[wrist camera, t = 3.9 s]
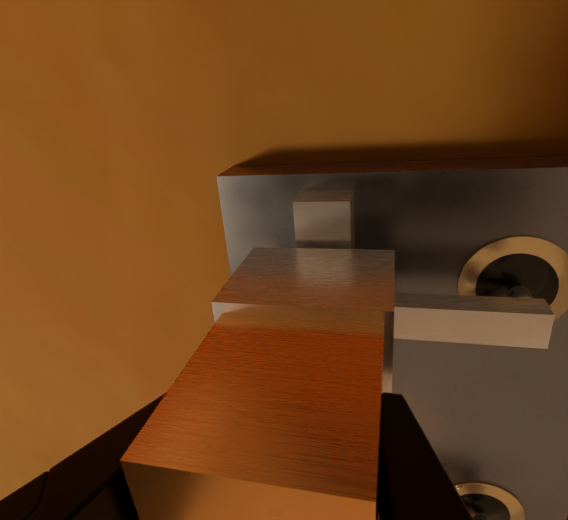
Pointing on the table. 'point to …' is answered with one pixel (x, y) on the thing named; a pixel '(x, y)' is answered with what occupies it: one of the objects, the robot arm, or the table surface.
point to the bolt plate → (449, 281)
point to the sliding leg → (300, 387)
